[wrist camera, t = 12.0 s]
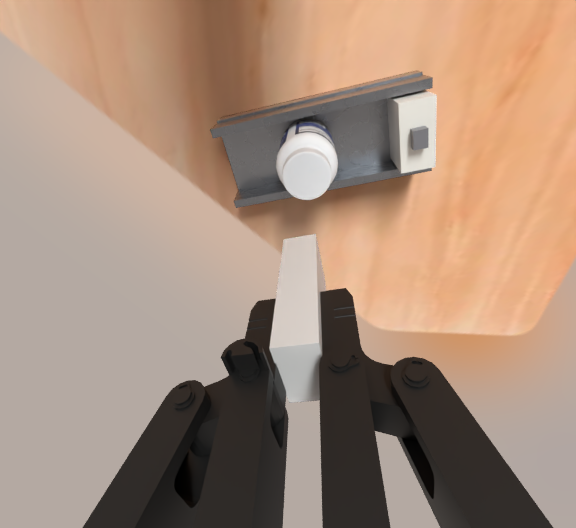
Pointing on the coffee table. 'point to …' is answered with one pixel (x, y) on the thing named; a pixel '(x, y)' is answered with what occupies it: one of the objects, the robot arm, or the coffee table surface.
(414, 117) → the mounted module
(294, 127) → the pill bottle
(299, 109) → the rail
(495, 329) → the coffee table surface
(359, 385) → the robot arm
